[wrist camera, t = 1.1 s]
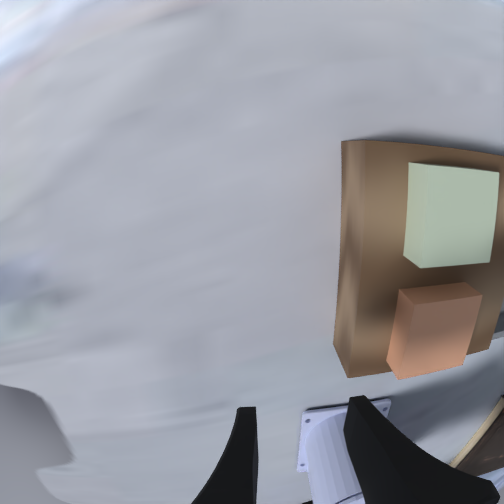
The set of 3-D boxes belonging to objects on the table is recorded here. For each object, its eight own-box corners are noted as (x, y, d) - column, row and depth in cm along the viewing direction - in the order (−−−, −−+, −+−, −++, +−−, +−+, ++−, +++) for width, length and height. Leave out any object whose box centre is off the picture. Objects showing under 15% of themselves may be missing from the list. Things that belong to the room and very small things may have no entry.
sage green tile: (470, 251, 16) (489, 262, 14) (403, 255, 16) (420, 268, 14) (477, 168, 15) (499, 172, 13) (408, 162, 15) (428, 165, 13)
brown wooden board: (463, 324, 23) (488, 349, 19) (333, 344, 23) (347, 378, 19) (486, 155, 18) (522, 159, 15) (341, 141, 18) (364, 140, 14)
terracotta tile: (448, 348, 19) (462, 364, 17) (386, 360, 18) (397, 379, 17) (464, 282, 17) (482, 294, 15) (399, 289, 17) (414, 304, 15)
